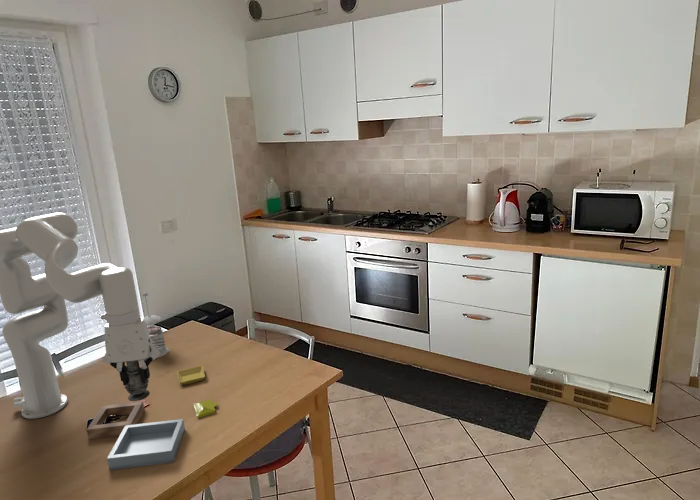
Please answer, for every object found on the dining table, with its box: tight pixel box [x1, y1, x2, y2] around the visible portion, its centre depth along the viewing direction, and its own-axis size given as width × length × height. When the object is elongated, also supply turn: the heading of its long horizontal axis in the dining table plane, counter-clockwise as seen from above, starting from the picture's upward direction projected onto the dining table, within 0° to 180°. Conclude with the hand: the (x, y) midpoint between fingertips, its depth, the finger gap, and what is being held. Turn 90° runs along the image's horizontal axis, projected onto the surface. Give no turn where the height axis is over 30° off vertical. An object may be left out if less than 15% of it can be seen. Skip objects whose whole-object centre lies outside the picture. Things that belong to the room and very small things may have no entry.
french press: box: [142, 291, 170, 359], centre depth 184 cm, size 10×12×25 cm
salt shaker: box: [124, 361, 151, 402], centre depth 125 cm, size 6×6×12 cm
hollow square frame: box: [86, 400, 145, 440], centre depth 143 cm, size 12×12×3 cm
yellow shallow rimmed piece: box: [176, 365, 206, 386], centre depth 167 cm, size 9×9×2 cm
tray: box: [106, 418, 186, 471], centre depth 131 cm, size 16×14×4 cm
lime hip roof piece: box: [192, 398, 221, 419], centre depth 148 cm, size 10×9×3 cm
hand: (136, 381), depth 126 cm, fingers closed on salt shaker, 4 cm apart
